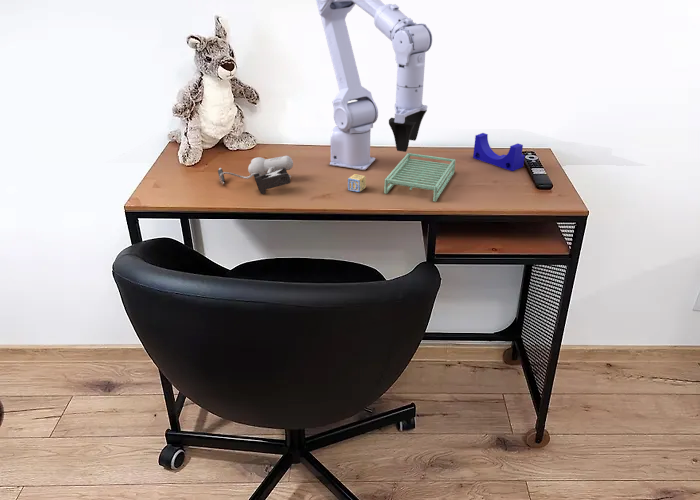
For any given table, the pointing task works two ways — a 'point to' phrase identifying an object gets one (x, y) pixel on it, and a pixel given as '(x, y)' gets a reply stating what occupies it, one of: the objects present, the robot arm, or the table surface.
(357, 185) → the alphabet block
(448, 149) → the table surface
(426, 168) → the rack
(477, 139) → the blue cradle bracket
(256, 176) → the clip-on lamp
